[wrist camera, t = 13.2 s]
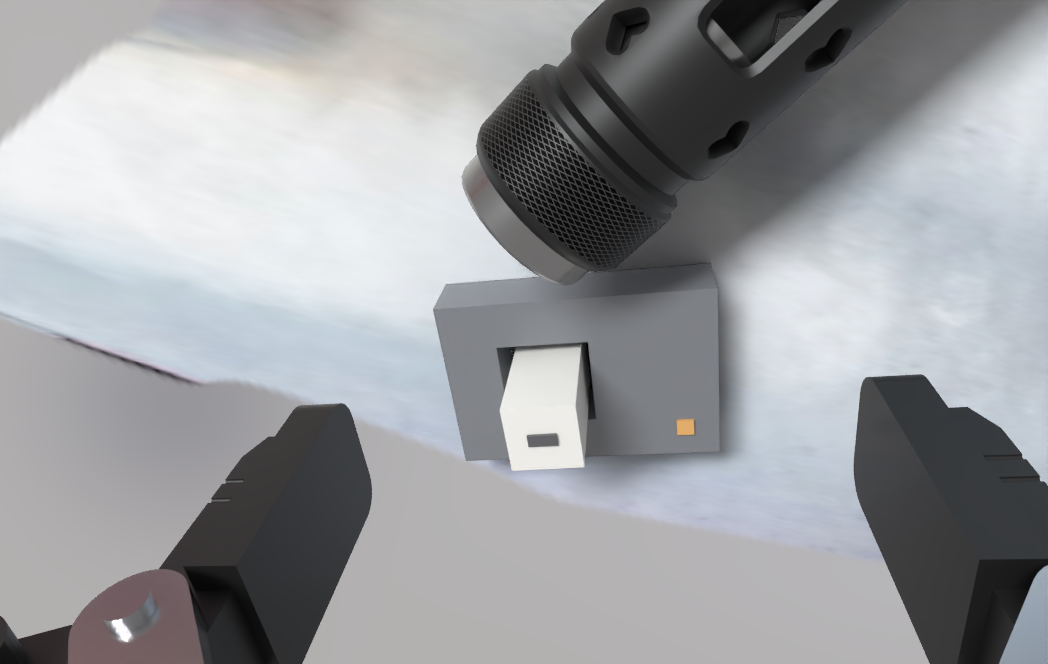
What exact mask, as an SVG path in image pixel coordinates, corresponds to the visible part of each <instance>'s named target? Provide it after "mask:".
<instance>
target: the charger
mask: <svg viewBox="0 0 1048 664" xmlns="http://www.w3.org/2000/svg"><path fill="white" fill-rule="evenodd" d="M589 391H590V373H589V366H588V358H587V351H586V343H585V342H580V343H565V344H549V345H533V346H518V347H516V349H515V353H514V357H513V361H512V365H511V368H510V372H509V376H508V380H507V384H506V388H505V392H504V395H503V399H502V403H501V407H500V415H501V420H502V425H503V429H504V434H505V439H506V444H507V449H508V454H509V459H510V464H511V469H512V471H517V470H538V469H559V468H579V467H585V451H586V436H587V421H588V406H589Z"/></svg>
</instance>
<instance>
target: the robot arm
mask: <svg viewBox="0 0 1048 664" xmlns="http://www.w3.org/2000/svg"><path fill="white" fill-rule="evenodd" d="M1039 477H1040V476H1039V475H1038V473H1037V472H1036V471H1035V470H1034V468H1033V467H1032V466H1031V465H1030V463H1029V462H1028V461H1027V460H1026V459H1023V458H1022V453H1021V452H1020V451H1019V450H1018V448H1017V447H1016V446H1015V445H1014V443H1013V442H1012V441H1011V440H1010V438H1009V437H1008V436H1007V435H1006V433H1005V432H1004V431H1003V430H1002V429H1001V428H1000V427H998V426H997V425H995V424H994V423H992V422H990V421H989V420H987V419H986V418H984V417H982V416H981V415H979V414H978V413H976V412H975V411H973V410H971V409H970V408H968V407H958V408H948V407H947V405H946V404H945V402H944V401H943V400H942V398H941V397H940V396H939V394H938V393H937V391H936V390H935V389H934V387H933V386H932V385H931V383H930V382H929V380H928V379H927V378H926V377H925V376H924V375H921V374H920V375H901V376H882V377H867V378H865V379H864V381H863V383H862V386H861V392H860V402H859V412H858V423H857V433H856V444H855V454H854V479H855V486H856V492H857V496H858V499H859V502H860V505H861V507H862V510H863V512H864V514H865V517H866V519H867V521H868V523H869V526H870V528H871V530H872V533H873V535H874V537H875V539H876V542H877V544H878V546H879V549H880V551H881V553H882V555H883V558H884V560H885V562H886V565H887V567H888V569H889V571H890V573H891V576H892V578H893V581H894V582H895V585H896V587H897V590H898V592H899V594H900V596H901V599H902V601H903V603H904V605H905V608H906V610H907V612H908V614H909V617H910V619H911V622H912V624H913V626H914V628H915V631H916V633H917V635H918V637H919V640H920V642H921V644H922V647H923V649H924V651H925V654H926V656H927V658H928V660H929V663H930V664H1048V486H1047V484H1046V483H1045V482H1041V481H1040V478H1039ZM371 499H372V486H371V479H370V474H369V471H368V468H367V464H366V461H365V458H364V454H363V451H362V448H361V444H360V441H359V438H358V434H357V431H356V428H355V424H354V421H353V418H352V415H351V412H350V410H349V408H348V407H347V406H346V405H345V404H341V403H340V404H320V405H301V406H298V407H296V408H295V409H294V410H293V412H292V413H291V414H290V416H289V417H288V419H287V420H286V422H285V423H284V424H283V426H282V427H281V429H280V430H279V431H278V433H277V434H276V436H275V437H268V438H266V439H265V440H264V441H262V442H261V443H260V444H259V445H257V446H256V447H255V448H253V449H252V450H251V451H249V452H248V453H247V454H246V455H244V456H243V457H242V458H241V460H240V461H239V462H238V463H237V465H236V466H235V467H234V469H233V470H232V471H231V473H230V474H229V476H228V477H227V479H226V483H225V484H222V485H221V486H220V488H219V489H218V490H217V492H216V493H215V494H214V496H213V497H212V502H211V503H208V504H207V505H206V506H205V508H204V509H203V510H202V512H201V513H200V514H199V516H198V517H197V518H196V520H195V521H194V522H193V524H192V525H191V526H190V528H189V529H188V530H187V532H186V533H185V535H184V536H183V538H182V539H181V540H180V541H179V543H178V544H177V545H176V547H175V548H174V550H173V551H172V552H171V553H170V555H169V556H168V557H167V559H166V560H165V561H164V563H163V564H162V565H161V567H160V568H159V569H155V570H149V571H145V572H141V573H138V574H135V575H132V576H130V577H127V578H125V579H123V580H121V581H119V582H117V583H116V584H114V585H112V586H111V587H109V588H107V589H106V590H105V591H103V592H102V593H100V594H99V595H98V596H97V597H95V598H94V599H93V600H92V601H91V602H90V603H89V604H88V605H87V606H86V607H85V608H84V609H83V610H82V611H81V613H80V614H79V616H78V617H77V618H76V620H75V622H74V623H73V625H69V626H66V627H62V628H58V629H55V630H51V631H47V632H43V633H39V634H36V635H32V636H28V637H24V638H21V639H17V637H16V636H15V634H14V633H13V632H12V630H11V629H10V627H9V626H8V624H7V623H6V621H5V620H4V619H3V618H2V617H1V616H0V664H302V663H303V661H304V658H305V655H306V653H307V652H308V649H309V647H310V645H311V643H312V640H313V638H314V636H315V634H316V631H317V629H318V627H319V625H320V622H321V620H322V618H323V615H324V613H325V611H326V609H327V607H328V604H329V602H330V600H331V598H332V595H333V593H334V591H335V589H336V586H337V584H338V582H339V579H340V577H341V575H342V573H343V570H344V568H345V566H346V564H347V562H348V559H349V557H350V555H351V553H352V550H353V548H354V545H355V543H356V541H357V539H358V537H359V534H360V532H361V530H362V528H363V526H364V523H365V521H366V519H367V517H368V514H369V510H370V506H371Z"/></svg>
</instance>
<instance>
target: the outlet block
mask: <svg viewBox="0 0 1048 664" xmlns="http://www.w3.org/2000/svg"><path fill="white" fill-rule="evenodd" d="M433 311H434V316H435V320H436V325H437V330H438V334H439V339H440V343H441V348H442V352H443V357H444V362H445V366H446V371H447V375H448V380H449V385H450V389H451V394H452V398H453V403H454V408H455V412H456V417H457V421H458V426H459V431H460V435H461V440H462V444H463V449H464V454H465V458H466V461H475V460H502V459H509V454H508V449H507V444H506V439H505V434H504V429H503V425H502V420H501V415H500V407H501V403H502V399H503V395H504V392H505V388H506V384H507V380H508V376H509V372H510V368H511V365H512V362H511V356H510V350H509V347H518V346H533V345H549V344H565V343H580V342H588V348H589V357H590V366H591V375H592V385H593V389H590V391H589V406H588V421H587V436H586V451H585V456H611V455H639V454H666V453H693V452H720V426H719V347H718V287H717V284H716V281H715V277H714V274H713V270H712V267H711V264H710V263H708V264H695V265H683V266H670V267H658V268H645V269H633V270H620V271H608V272H595V273H586V274H585V275H584V276H583V277H582V278H581V279H580V280H578V281H577V282H576V283H575V284H573V285H567V286H563V285H558V284H555V283H552V282H550V281H547V280H545V279H544V278H542V277H533V278H520V279H508V280H495V281H483V282H470V283H458V284H446V285H445V287H444V289H443V291H442V293H441V295H440V297H439V299H438V301H437V303H436V305H435V307H434V309H433Z"/></svg>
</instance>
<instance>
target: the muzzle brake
mask: <svg viewBox="0 0 1048 664" xmlns="http://www.w3.org/2000/svg"><path fill="white" fill-rule="evenodd" d="M907 1H908V0H605V1H604V2H603V3H602V4H601V5H600V6H599V7H598V8H597V9H596V10H595V11H594V12H593V13H592V14H591V15H590V16H589V17H587V18H586V20H585V21H584V22H583V23H582V24H581V25H580V26H579V27H578V28H577V29H576V31H575V32H574V33H573V36H572V38H571V53H570V54H569V55H568V56H567V57H566V58H565V59H564V61H563V62H562V63H561V64H560V65H559V66H558V67H555V66H552V65H549V64H545V65H543V66H542V67H541V68H540V69H539V70H532V71H530V72H529V73H528V74H527V75H526V76H525V77H524V79H523V80H522V81H521V82H520V83H519V84H518V85H517V86H516V87H515V89H514V90H513V91H512V92H511V93H510V94H509V95H508V96H507V98H506V99H505V100H504V101H503V102H502V103H501V104H500V105H499V106H498V108H497V109H496V110H495V111H494V112H493V113H492V114H491V115H490V116H489V118H488V119H487V120H486V121H485V122H484V123H483V124H482V126H481V128H480V131H479V134H478V139H477V144H476V148H477V155H476V156H475V157H474V158H473V159H472V160H471V161H470V163H469V164H468V165H467V166H466V167H465V169H464V171H463V174H462V185H463V188H464V191H465V194H466V196H467V198H468V200H469V202H470V204H471V206H472V208H473V209H474V211H475V213H476V214H477V216H478V217H479V219H480V220H481V222H482V223H483V224H484V226H485V227H486V228H487V230H488V231H489V232H490V233H491V234H492V236H493V237H494V238H495V239H496V240H497V241H498V243H499V244H500V245H501V246H502V247H503V248H504V249H505V250H506V251H507V252H508V253H509V254H510V255H512V256H513V257H514V258H515V259H516V260H517V261H519V262H520V263H521V264H522V265H524V266H525V267H526V268H528V269H529V270H531V271H532V272H533V273H535V274H537V275H538V276H540V277H542V278H544V279H545V280H547V281H550V282H552V283H555V284H558V285H563V286H567V285H573V284H575V283H576V282H577V281H578V280H580V279H581V278H582V277H583V276H584V275H585V274H586V273H587V272H588V271H594V272H597V271H604V270H610V269H613V268H615V267H617V266H618V265H619V264H620V263H621V262H622V261H623V260H624V259H626V258H627V257H628V256H629V255H630V254H631V253H632V252H634V251H635V250H636V249H637V248H638V247H639V246H640V245H642V244H643V243H644V242H645V241H646V240H647V239H648V238H649V237H651V236H652V235H653V234H654V233H655V232H656V231H657V230H659V229H660V228H661V227H662V226H663V225H664V224H665V223H666V222H668V221H669V220H670V218H671V211H672V210H673V209H674V208H675V207H676V206H677V200H676V196H675V193H676V192H677V191H678V190H679V189H680V188H681V187H682V186H683V185H684V184H686V183H687V182H688V181H689V180H693V181H701V180H704V179H707V178H708V177H709V176H710V175H712V174H713V173H714V172H715V171H716V170H717V169H718V168H719V167H721V166H722V165H723V164H724V163H725V162H726V161H727V160H728V159H730V158H731V157H732V156H733V155H734V154H735V153H736V152H737V151H739V150H740V149H741V148H742V147H743V146H744V145H745V144H746V143H748V142H749V141H750V140H751V139H752V138H753V137H754V136H756V135H757V134H758V133H759V132H760V131H761V130H762V129H763V128H765V127H766V126H767V125H768V124H769V123H770V122H771V121H772V120H774V119H775V118H776V117H777V116H778V115H779V114H780V113H781V112H783V111H784V110H785V109H786V108H787V107H788V106H789V105H790V104H792V103H793V102H794V101H795V100H796V99H797V98H798V97H799V96H801V95H802V94H803V93H804V92H805V91H806V90H807V89H808V88H810V87H811V86H812V85H813V84H814V83H815V82H816V81H817V80H819V79H820V78H821V77H822V76H823V75H824V74H825V73H827V72H828V71H829V70H830V69H831V68H832V67H833V66H834V65H836V64H837V63H838V62H839V61H840V60H841V59H842V58H843V57H845V56H846V55H847V54H848V53H849V52H850V51H851V50H852V49H854V48H855V47H856V46H857V45H858V44H859V43H860V42H861V41H863V40H864V39H865V38H866V37H867V36H868V35H869V34H870V33H872V32H873V31H874V30H875V29H876V28H877V27H878V26H879V25H881V24H882V23H883V22H884V21H885V20H886V19H887V18H889V17H890V16H891V15H892V14H893V13H894V12H895V11H896V10H898V9H899V8H900V7H901V6H902V5H903V4H904V3H905V2H907ZM802 15H803V16H805V17H803V18H802V19H801V20H800V21H799V22H798V23H797V24H796V25H795V26H794V27H793V28H792V29H791V30H790V31H789V32H788V33H786V34H785V35H784V36H783V37H782V38H781V39H780V40H779V41H778V42H777V43H776V44H775V35H776V31H777V26H778V20H779V18H787V17H795V16H802Z"/></svg>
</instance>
